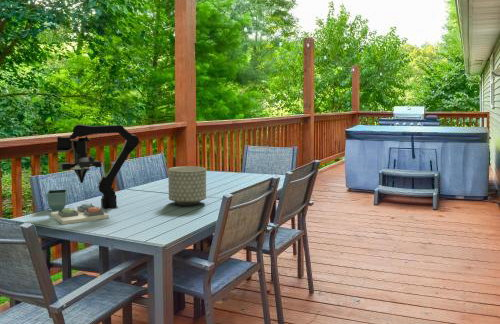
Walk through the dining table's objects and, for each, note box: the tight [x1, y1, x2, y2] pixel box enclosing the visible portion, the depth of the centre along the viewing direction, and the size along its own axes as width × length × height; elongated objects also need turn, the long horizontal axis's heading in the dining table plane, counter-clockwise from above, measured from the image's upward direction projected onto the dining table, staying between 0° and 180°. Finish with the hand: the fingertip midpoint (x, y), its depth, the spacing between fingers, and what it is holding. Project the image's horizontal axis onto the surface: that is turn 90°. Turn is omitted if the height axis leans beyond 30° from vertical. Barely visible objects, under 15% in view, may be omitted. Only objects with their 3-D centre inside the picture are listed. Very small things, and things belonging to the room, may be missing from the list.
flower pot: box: [46, 189, 68, 212], centre depth 245 cm, size 9×9×9 cm
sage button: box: [61, 207, 74, 214], centre depth 227 cm, size 5×5×2 cm
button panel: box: [50, 204, 110, 225], centre depth 230 cm, size 20×20×3 cm
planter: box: [167, 165, 207, 206], centre depth 258 cm, size 19×19×18 cm
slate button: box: [80, 202, 93, 209], centre depth 237 cm, size 5×5×2 cm
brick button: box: [88, 206, 100, 213], centre depth 229 cm, size 5×5×2 cm
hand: (81, 182), depth 244 cm, fingers closed
